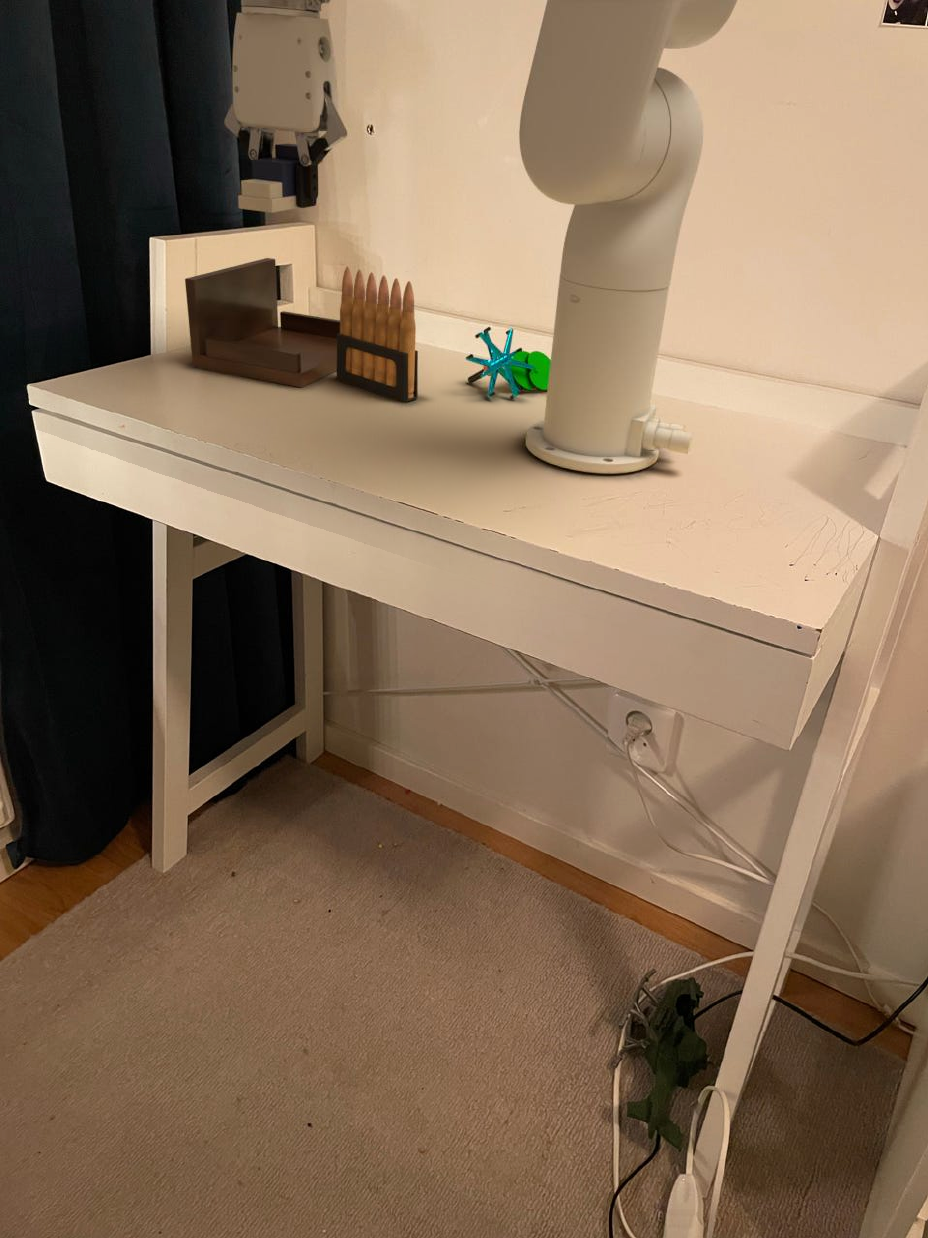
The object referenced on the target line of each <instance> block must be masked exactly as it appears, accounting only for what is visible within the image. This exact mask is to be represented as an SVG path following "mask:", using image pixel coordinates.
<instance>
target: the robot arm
mask: <svg viewBox="0 0 928 1238" xmlns="http://www.w3.org/2000/svg"><path fill="white" fill-rule="evenodd" d="M737 2H738V0H547V1H546V4H545V8H544V13H543V17H542V21H541V24H540V25H541V26H540V29H539V33H538V38H537V42H536V46H535V49H534V54H533V58H532V62H531V65H530V70H529V75H528V79H527V83H526V87H525V90H524V91H525V92H524V96H523V101H522V106H521V112H520V119H519V131H518V133H519V137H518V138H519V139H518V140H519V150H520V157H521V160H522V161H521V162H522V164H523V167H524V170H525V172H526V174H527V176H528V178H529V180H530V182H532V184H533V185H534V186H535V188H536V189H537V190H538V191H539V192H540V193H542V194H543V196H545V197H547V198H549V199H550V200H553V201H555V202H558V203H561V204H566V205H574V206H573V209H572V212H571V214H570V218H569V221H568V224H567V228H566V233H565V237H564V242H563V248H562V253H561V254H562V256H561V262H560V272H559V279H558V288H557V298H556V307H555V315H554V316H555V317H554V324H553V334H552V335H553V336H552V344H551V354H550V360H551V362H550V372H549V381H548V389H547V390H546V391H547V392H546V399H545V410H544V419H543V420H542V421H539V422H537V423H535V424H533V425H532V426H530V427H529V428H528V429H527V431H526V434H525V446H526V448H527V450H528V452H530V453H531V454H532V455H533V456H535V457H537V458H538V459H540V460H541V461H544V462H545V463H548V464H551V465H553V466H556V467H560V468H564V469H568V470H571V471H578V472H584V473H593V474H626V473H632V472H637V471H640V470H644V469H646V468H649V467H651V466H652V465H654V463H656V462H657V460H658V458H659V452H660V449H665V450H668V451H670V452H674V453H680V454H685V455H689V454H690V452H691V448H692V444H693V441H694V432H690V431H685V429H686V426H685V425H682V424H678V423H668V422H663V421H661V418H658V417H657V416H656V415H657V410H658V409H657V408H658V404H654V403H651V399H652V394H653V387H654V382H655V375H656V370H657V365H658V364H657V363H658V357H659V356H658V355H659V350H660V346H661V339H662V334H663V333H662V332H663V327H664V320H665V314H666V308H667V303H668V296H669V290H670V285H671V280H672V274H673V270H674V264H675V263H674V262H675V257H676V253H677V252H676V251H677V247H678V242H679V236H680V232H681V228H682V223H683V219H684V216H685V212H686V208H687V204H688V202H689V198H690V196H691V191H692V189H693V186H694V182H695V179H696V175H697V173H698V167H699V164H700V161H701V155H702V151H703V143H704V121H703V115H702V110H701V107H700V104H699V102H698V100H697V97H696V95H695V94H694V92H693V90H692V89H691V87H690V86H689V85H688V84H687V82H685V80H683V79H682V78H681V77H680V76H678V75H677V74H675V73H674V72H671V71H670V70H668V69H665V68H662V67H659V65H660V62H661V58H662V55H663V52H664V49H668V50H669V49H671V50H679V49H688V48H689V49H690V48H695V47H697V46H700V45H702V44H704V43H706V42H707V41H709V40H711V39H712V38H714V37H715V36H716V35H717V34H718V33H720V31H721V30H722V28H723V27H724V26H725V24H726V23H727V22H728V20H729V19H730V17H731V15H732V13H733V11H734V9H735V7H736V4H737ZM330 3H331V0H240V5H241V7H240V8H241V12H236V18H235V24H234V31H233V41H232V42H233V44H232V68H231V69H232V76H231V79H232V80H231V82H232V102H231V105H230V107H229V109H228V111H227V113H226V116H225V118H224V120H223V121H224V122H223V123H224V126H225V128H227V129H228V130H229V131H230V132H231V133H232V134H233V135H234V136H235V137H237V138H238V140H239V141H240V142H241V144H242V145H243V147H244V149H246V151H247V152H248V158H249V159H250V160H251V161H252V159H262V158H273V153H274V146H275V144H274V143H275V137H276V136H275V134H276V131H284V132H293V133H294V137H295V144H297V149H298V154H299V160H300V165H298V166H296V167H295V189H296V205H297V206H298V207H299V208H300V209H306V208H310V207H315V206H316V205H317V204H316V203H317V197H318V191H319V166H320V165H322V164H323V161H324V159H325V158H326V156H327V155H328V154H329V153H330V152H331V150H332V149H333V148H334V147H336V146H337V145H338V144H340V143H341V142H342V141H344V140H345V139H346V138H347V137H348V130H347V129H346V127H345V124H344V122H343V120H342V119H341V116H340V114H339V93H338V79H337V68H336V67H337V66H336V58H335V51H334V44H333V39H332V32H331V27H330V24H329V19H327V18H321V13H320V12H322V5H323V4H330ZM319 132H325V133H324V134H323V135H321V136H320V133H319ZM299 208H298V209H299Z"/></svg>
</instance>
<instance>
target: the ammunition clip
mask: <svg viewBox="0 0 928 1238" xmlns="http://www.w3.org/2000/svg"><path fill="white" fill-rule="evenodd" d="M351 272H352V271H351V270H350V267H349V266H346V267H345V269H344V272H343V276H342V282H341V302H340V307H339V320H340V333H338V334H337V370H336V374H335V375H336V377H335V378H336V381H338V382H339V381H340V382H342V383H345V384H348V385H351V386H354V387H358V388H360V389H363V390H366V391H370V392H373V393H375V394H379V395H382V396H384V397H388V398H391V399H393V400H397V401H400V402H403V403H407V402H410V401H414V400H417V399H418V398H419V388H418V387H419V384H418V383H419V377H418V375H419V373H418V371H419V370H418V369H419V366H418V365H419V363H418V361H419V350H417V349H416V332H417V331H416V329H417V328H416V327H417V325H416V319H415V295H414V289H413V286H412V283H411V281H410V280H409V281H407V282H406V284H405V287H404V291H403V297H402V290H401V284H400V282H399V279H398V278H395V279H394V280H393V283H392V286H391V291H390V290H389V283H388V280H387V278H386V276H385V275H382V277H381V279H380V282H379V285H378V287H377V282H376V277H375V275H374V273H373V272H370V273H369V275H368V278H367V283H366V289H365V279H364V275H363V273H362V272H363V271H362V270H361V269H358V270H357V272H356V275H355V279H354V285H353V277H352V273H351Z"/></svg>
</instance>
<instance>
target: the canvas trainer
mask: <svg viewBox="0 0 928 1238" xmlns="http://www.w3.org/2000/svg"><path fill="white" fill-rule="evenodd" d="M298 165H300V160H299V154H298V149H297V143H277V144H274V157H273V156H272V158H262V159H252V160H251V167H252V169H251V170H252V171H251V172H252V179H244V180H241V181H240V184H241V185H240V187H241V194H240V195H237V199H238V201H237V203H238V209H240V210H249V211H257V212H264V213H272V214H274V213H278V212H284V211H289V210H294V209H295V210H296V209H299V207H298V206H297V205H296V189H295V167H296V166H298ZM322 195H323V192H322V191H320V190H318V197H317V203H316V205H320V204H321V205H322V204H323V196H322Z"/></svg>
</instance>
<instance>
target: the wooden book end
mask: <svg viewBox="0 0 928 1238" xmlns="http://www.w3.org/2000/svg"><path fill="white" fill-rule="evenodd" d="M276 267H277V265H276V258H271V257H265V258H261V259H258V260H254V261H250V262H249V261H248V262H246V263H241V264H238V265H233V266H229V267H226V268H221V269H219V270H214V271H210V272H206V273H202V274H197V275H194V276H190V277H186V278H184V284H185V285H184V286H185V294H186V305H187V307H186V308H187V317H188V318H187V319H188V328H189V339H190V340H189V341H190V350H191V359H192V360H191V361H192V367H193V368H196V369H202V370H207V371H212V372H218V373H222V374H228V375H234V376H239V377H244V378H250V379H255V380H258V381H264V382H270V383H274V384H280V385H285V386H291V387H296V388H304V387H305V386H307V385H310V384H312V383H313V382H315V381H318V380H320V379H322V378H324V377H326V376H328V375H330V374H332V373H334V372H337V334H338V333H340V319H334V318H327V317H320V316H315V315H309V314H305V313H304V314H303V313H297V312H291V311H285V310H283V311H280V312H278V290H277V268H276ZM278 313H279V314H278ZM279 315H280V316H279ZM279 320H280V321H279ZM279 322H280V326H279Z"/></svg>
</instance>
